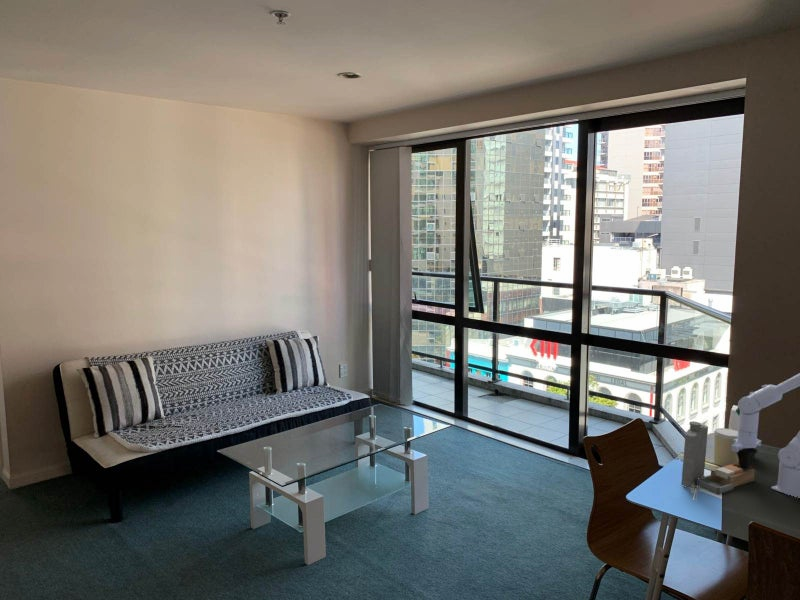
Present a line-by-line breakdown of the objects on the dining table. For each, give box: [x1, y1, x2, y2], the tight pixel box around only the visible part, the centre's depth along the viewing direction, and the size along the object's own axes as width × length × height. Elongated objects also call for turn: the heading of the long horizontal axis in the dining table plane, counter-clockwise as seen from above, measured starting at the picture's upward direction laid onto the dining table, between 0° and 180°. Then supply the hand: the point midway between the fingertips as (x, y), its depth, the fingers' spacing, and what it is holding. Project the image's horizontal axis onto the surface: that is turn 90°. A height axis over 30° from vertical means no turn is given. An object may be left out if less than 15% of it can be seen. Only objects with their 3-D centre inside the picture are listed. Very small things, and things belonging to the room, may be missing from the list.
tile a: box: [724, 465, 743, 475], centre depth 202 cm, size 4×4×2 cm
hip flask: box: [680, 421, 709, 488], centre depth 201 cm, size 16×4×20 cm, turn 137°
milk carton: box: [728, 404, 740, 431], centre depth 226 cm, size 9×9×20 cm
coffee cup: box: [713, 427, 740, 467], centre depth 216 cm, size 9×9×12 cm
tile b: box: [715, 466, 735, 479], centre depth 199 cm, size 4×4×2 cm
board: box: [710, 463, 756, 488], centre depth 202 cm, size 7×14×4 cm, turn 120°
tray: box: [695, 474, 734, 495], centre depth 196 cm, size 8×8×2 cm
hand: (744, 468), depth 205 cm, fingers closed
